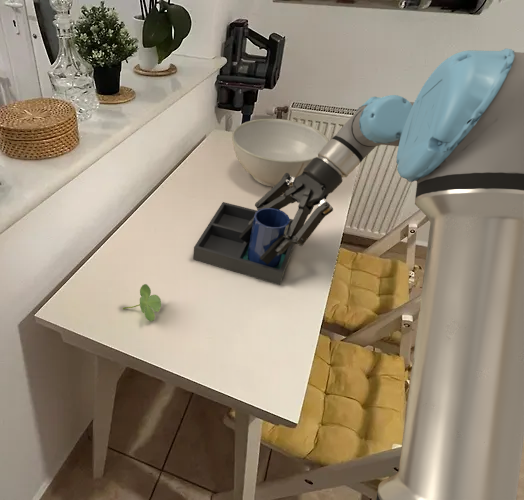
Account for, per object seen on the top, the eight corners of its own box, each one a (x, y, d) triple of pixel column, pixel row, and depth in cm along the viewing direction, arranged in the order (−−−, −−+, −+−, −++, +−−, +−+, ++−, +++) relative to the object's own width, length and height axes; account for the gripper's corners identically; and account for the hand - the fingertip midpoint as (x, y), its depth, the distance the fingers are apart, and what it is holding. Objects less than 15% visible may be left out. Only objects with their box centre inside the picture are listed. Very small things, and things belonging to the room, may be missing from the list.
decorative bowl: (327, 204, 116) (338, 164, 108) (227, 197, 117) (232, 157, 110) (312, 157, 136) (321, 121, 128) (228, 152, 138) (232, 115, 130)
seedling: (139, 325, 89) (165, 318, 86) (115, 328, 82) (143, 321, 79) (132, 291, 90) (158, 283, 87) (108, 292, 83) (135, 283, 80)
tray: (280, 285, 92) (283, 273, 89) (193, 259, 98) (193, 247, 95) (298, 233, 106) (301, 221, 103) (221, 213, 112) (222, 201, 109)
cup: (286, 263, 94) (297, 222, 87) (259, 272, 92) (268, 231, 85) (267, 244, 99) (275, 204, 92) (241, 253, 97) (247, 212, 90)
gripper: (372, 200, 83) (289, 285, 88) (305, 155, 97) (236, 231, 102) (360, 182, 78) (273, 273, 83) (290, 138, 92) (219, 218, 96)
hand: (253, 250), depth 92 cm, fingers closed on cup, 7 cm apart
